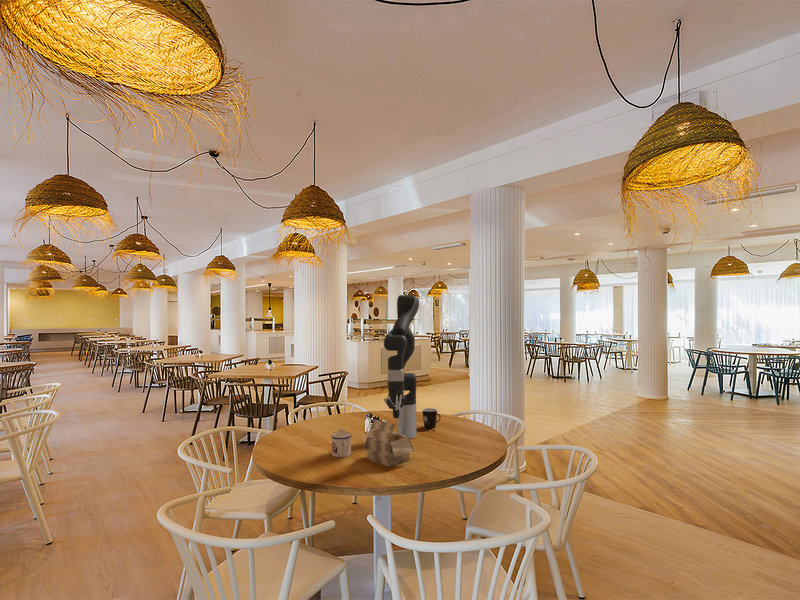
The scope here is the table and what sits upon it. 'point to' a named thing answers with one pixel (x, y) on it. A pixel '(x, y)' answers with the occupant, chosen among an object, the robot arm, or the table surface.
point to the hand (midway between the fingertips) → (396, 418)
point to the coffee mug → (430, 417)
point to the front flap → (381, 430)
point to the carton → (389, 450)
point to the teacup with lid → (341, 443)
